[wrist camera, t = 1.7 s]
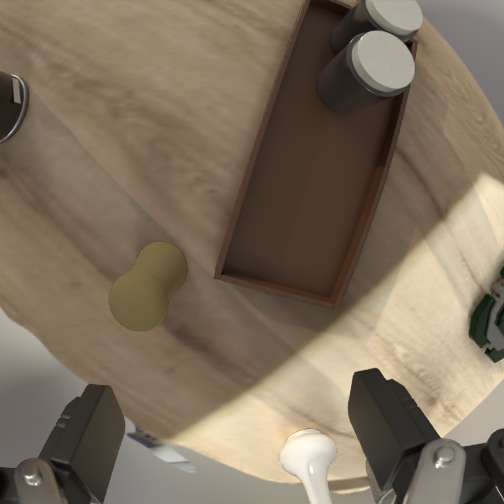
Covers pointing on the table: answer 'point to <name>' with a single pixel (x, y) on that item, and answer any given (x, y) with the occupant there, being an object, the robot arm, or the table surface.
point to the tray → (309, 177)
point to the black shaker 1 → (377, 21)
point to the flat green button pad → (490, 322)
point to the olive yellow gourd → (148, 286)
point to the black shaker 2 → (365, 73)
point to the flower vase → (310, 462)
